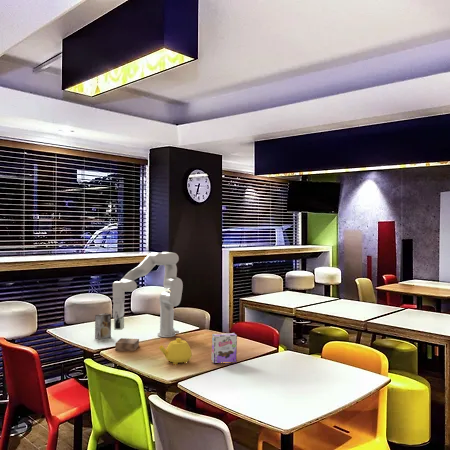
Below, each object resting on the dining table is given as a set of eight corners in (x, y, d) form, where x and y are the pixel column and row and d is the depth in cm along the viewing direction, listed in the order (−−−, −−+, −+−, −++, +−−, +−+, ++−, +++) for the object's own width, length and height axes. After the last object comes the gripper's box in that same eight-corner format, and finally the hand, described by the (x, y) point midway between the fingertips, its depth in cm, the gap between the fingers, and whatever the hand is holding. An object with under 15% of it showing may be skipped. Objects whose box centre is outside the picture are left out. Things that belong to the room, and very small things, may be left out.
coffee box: (105, 335, 323) (105, 312, 323) (111, 336, 319) (111, 314, 319) (94, 337, 316) (95, 314, 316) (100, 339, 312) (100, 315, 312)
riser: (138, 346, 297) (138, 338, 297) (134, 351, 285) (134, 343, 285) (120, 345, 298) (120, 338, 298) (115, 350, 286) (115, 342, 286)
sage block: (124, 327, 304) (123, 317, 304) (121, 329, 299) (121, 319, 299) (116, 327, 304) (116, 317, 304) (114, 329, 299) (114, 319, 299)
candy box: (213, 364, 261) (214, 335, 261) (211, 361, 267) (211, 333, 267) (236, 363, 265) (237, 334, 265) (233, 360, 270) (234, 332, 270)
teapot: (163, 368, 251) (164, 344, 251) (153, 361, 264) (153, 337, 265) (196, 364, 261) (196, 340, 261) (184, 357, 275) (184, 334, 275)
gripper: (117, 297, 310) (118, 324, 310) (108, 302, 293) (109, 330, 293) (128, 297, 309) (128, 324, 310) (119, 302, 292) (120, 330, 293)
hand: (119, 327), depth 301 cm, fingers closed on sage block, 5 cm apart
